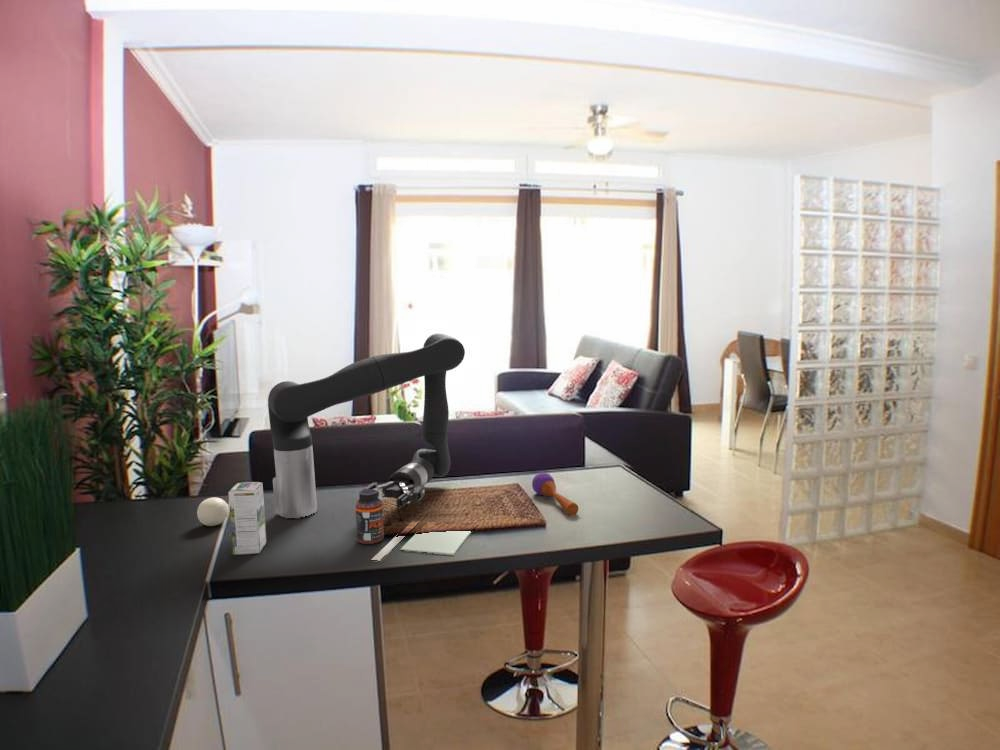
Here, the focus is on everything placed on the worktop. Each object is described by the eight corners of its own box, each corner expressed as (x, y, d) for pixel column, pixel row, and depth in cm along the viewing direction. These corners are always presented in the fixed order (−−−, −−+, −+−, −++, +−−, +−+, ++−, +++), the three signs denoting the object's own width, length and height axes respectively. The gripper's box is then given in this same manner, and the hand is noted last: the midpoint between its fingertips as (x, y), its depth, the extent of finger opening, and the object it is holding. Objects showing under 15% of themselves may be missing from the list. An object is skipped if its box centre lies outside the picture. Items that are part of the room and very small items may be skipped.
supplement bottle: (372, 547, 144) (369, 497, 142) (351, 542, 146) (348, 494, 145) (389, 537, 149) (387, 489, 147) (369, 533, 152) (366, 485, 150)
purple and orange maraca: (559, 502, 157) (526, 473, 175) (563, 524, 159) (530, 493, 177) (581, 494, 159) (547, 466, 177) (584, 516, 161) (550, 486, 179)
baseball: (236, 520, 162) (234, 494, 161) (215, 531, 155) (212, 504, 154) (214, 517, 164) (212, 492, 163) (192, 528, 157) (189, 501, 156)
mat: (400, 550, 141) (400, 548, 141) (427, 522, 157) (427, 521, 157) (453, 555, 138) (453, 553, 138) (475, 526, 153) (475, 525, 153)
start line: (371, 560, 137) (371, 559, 137) (412, 521, 158) (412, 520, 158) (380, 561, 136) (380, 560, 136) (420, 522, 157) (420, 521, 157)
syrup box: (241, 544, 147) (235, 482, 145) (268, 543, 147) (262, 480, 145) (232, 555, 141) (226, 490, 139) (261, 553, 142) (255, 489, 139)
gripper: (382, 465, 169) (352, 485, 154) (434, 468, 165) (408, 488, 150) (383, 493, 170) (354, 515, 155) (435, 496, 167) (410, 520, 151)
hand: (381, 502), depth 152 cm, fingers open, 8 cm apart
